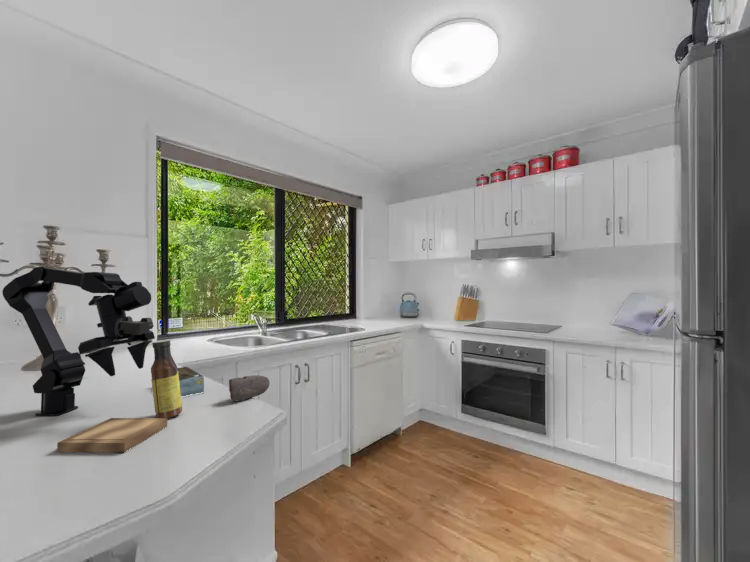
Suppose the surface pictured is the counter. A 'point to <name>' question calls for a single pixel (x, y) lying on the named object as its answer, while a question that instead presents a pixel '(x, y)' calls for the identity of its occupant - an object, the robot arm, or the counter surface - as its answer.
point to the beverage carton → (190, 381)
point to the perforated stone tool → (247, 387)
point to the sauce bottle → (165, 382)
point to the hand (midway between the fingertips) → (127, 371)
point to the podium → (113, 435)
